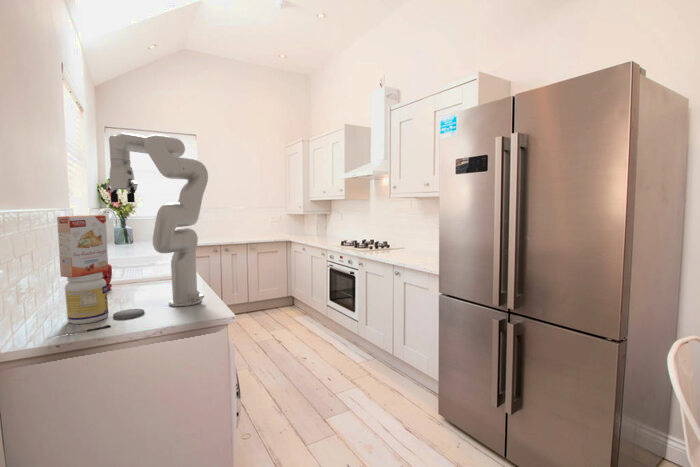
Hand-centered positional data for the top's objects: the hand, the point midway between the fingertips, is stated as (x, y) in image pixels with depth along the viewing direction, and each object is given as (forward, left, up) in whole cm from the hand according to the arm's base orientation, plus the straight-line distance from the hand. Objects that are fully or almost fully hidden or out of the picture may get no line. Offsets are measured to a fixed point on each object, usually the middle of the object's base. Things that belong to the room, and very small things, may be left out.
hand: (122, 202), depth 164 cm
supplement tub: (-18, +32, -43) cm, 56 cm away
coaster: (-28, +24, -42) cm, 56 cm away
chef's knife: (-27, +43, -43) cm, 66 cm away
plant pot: (+21, -1, -43) cm, 48 cm away
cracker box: (-18, +32, -26) cm, 45 cm away
